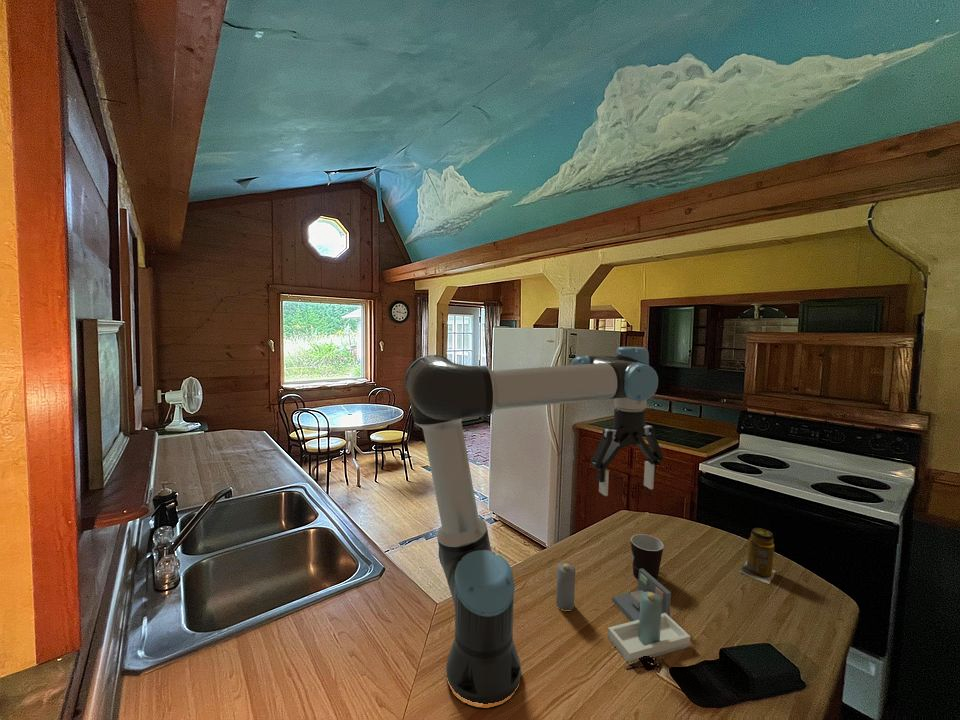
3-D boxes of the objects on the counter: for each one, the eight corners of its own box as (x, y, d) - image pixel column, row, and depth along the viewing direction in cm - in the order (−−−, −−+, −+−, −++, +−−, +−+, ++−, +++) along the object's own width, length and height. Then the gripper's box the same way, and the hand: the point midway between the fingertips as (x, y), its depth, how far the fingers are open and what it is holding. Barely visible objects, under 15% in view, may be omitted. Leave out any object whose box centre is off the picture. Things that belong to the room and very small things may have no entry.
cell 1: (561, 613, 101) (562, 572, 100) (553, 601, 106) (554, 562, 104) (577, 609, 103) (578, 569, 102) (568, 598, 107) (569, 559, 106)
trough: (629, 664, 87) (629, 653, 86) (607, 637, 94) (607, 627, 94) (689, 646, 91) (690, 636, 91) (664, 622, 99) (665, 612, 98)
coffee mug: (657, 589, 110) (659, 554, 109) (624, 577, 116) (626, 543, 115) (667, 568, 120) (669, 536, 119) (637, 558, 125) (639, 526, 124)
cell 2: (646, 649, 90) (649, 603, 88) (634, 634, 94) (636, 590, 93) (664, 645, 91) (666, 599, 90) (650, 630, 95) (653, 586, 94)
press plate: (638, 608, 100) (638, 601, 100) (629, 600, 103) (630, 592, 103) (650, 605, 101) (651, 598, 101) (641, 597, 104) (642, 590, 104)
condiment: (776, 571, 119) (779, 532, 118) (769, 584, 113) (772, 543, 112) (746, 560, 124) (750, 523, 123) (738, 572, 118) (741, 533, 117)
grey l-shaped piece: (638, 628, 97) (639, 600, 96) (612, 600, 106) (613, 574, 105) (669, 620, 99) (671, 592, 98) (641, 593, 109) (642, 568, 108)
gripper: (595, 415, 95) (591, 503, 98) (681, 408, 103) (676, 490, 105) (578, 408, 102) (575, 490, 105) (660, 402, 110) (656, 479, 112)
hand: (626, 490), depth 105 cm, fingers open, 13 cm apart
